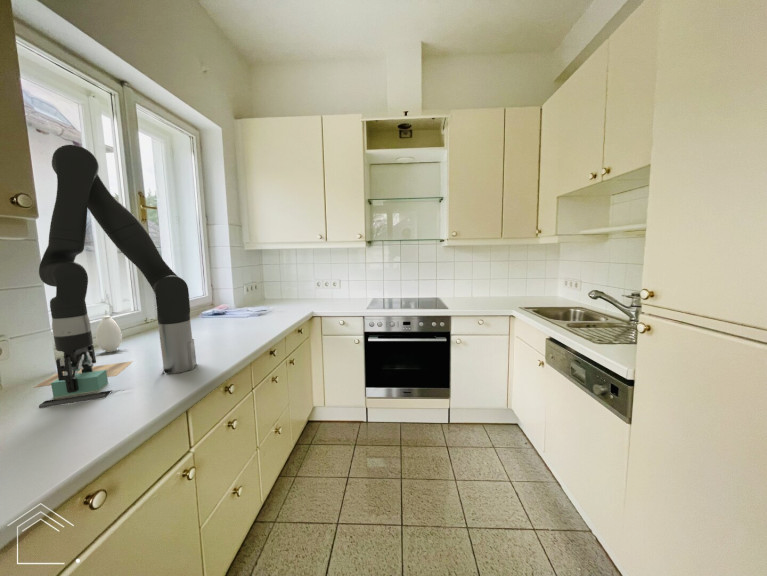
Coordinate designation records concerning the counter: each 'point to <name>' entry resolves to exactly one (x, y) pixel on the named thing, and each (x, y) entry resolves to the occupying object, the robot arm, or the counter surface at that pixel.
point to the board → (110, 369)
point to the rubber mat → (74, 399)
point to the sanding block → (81, 384)
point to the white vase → (108, 334)
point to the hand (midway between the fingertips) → (81, 385)
